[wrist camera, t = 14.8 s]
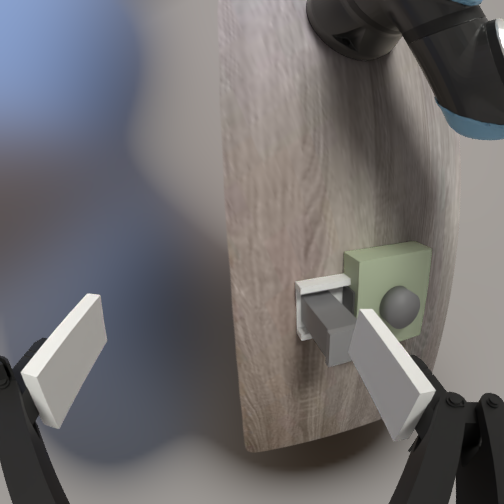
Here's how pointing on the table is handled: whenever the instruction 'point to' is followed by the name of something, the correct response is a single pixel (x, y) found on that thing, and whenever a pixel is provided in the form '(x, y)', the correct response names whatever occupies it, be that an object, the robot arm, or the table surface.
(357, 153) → the table surface
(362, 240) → the table surface
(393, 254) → the green block with knob
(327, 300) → the gray capped pillar
